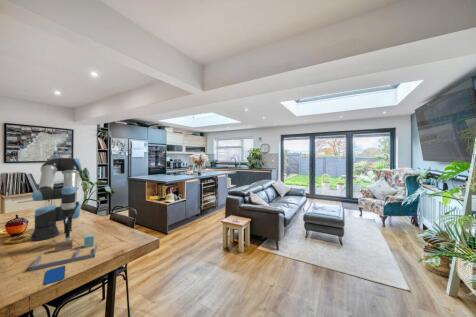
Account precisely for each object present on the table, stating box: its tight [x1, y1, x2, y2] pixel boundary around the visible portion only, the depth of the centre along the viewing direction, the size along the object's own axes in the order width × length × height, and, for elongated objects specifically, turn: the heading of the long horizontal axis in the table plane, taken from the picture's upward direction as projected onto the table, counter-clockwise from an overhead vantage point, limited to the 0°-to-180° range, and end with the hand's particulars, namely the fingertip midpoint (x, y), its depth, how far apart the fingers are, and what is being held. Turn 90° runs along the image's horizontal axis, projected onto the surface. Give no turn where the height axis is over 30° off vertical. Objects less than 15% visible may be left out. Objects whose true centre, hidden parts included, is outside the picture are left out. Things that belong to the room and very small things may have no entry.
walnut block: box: [54, 239, 74, 253], centre depth 124 cm, size 4×8×5 cm, turn 126°
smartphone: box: [43, 265, 66, 286], centre depth 96 cm, size 7×1×15 cm
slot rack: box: [28, 244, 98, 272], centre depth 113 cm, size 14×28×2 cm, turn 122°
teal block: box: [83, 233, 95, 249], centre depth 129 cm, size 5×5×7 cm
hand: (67, 241), depth 132 cm, fingers closed
